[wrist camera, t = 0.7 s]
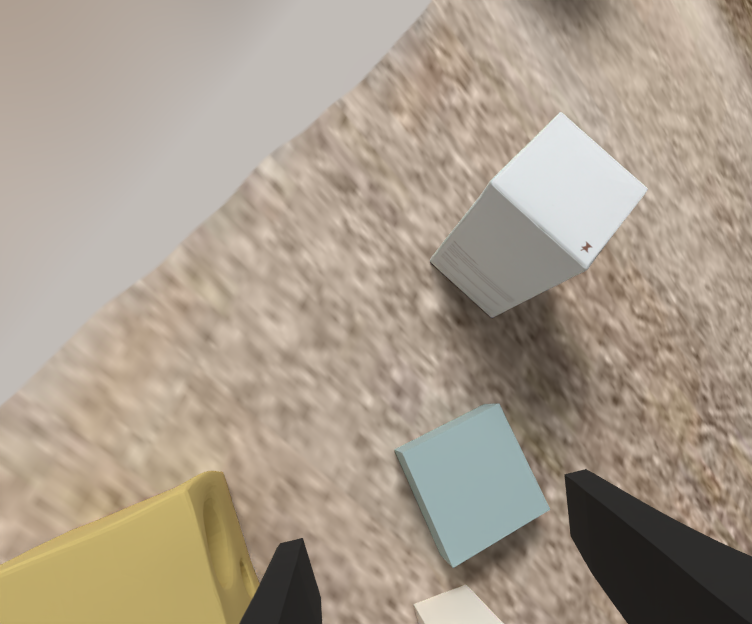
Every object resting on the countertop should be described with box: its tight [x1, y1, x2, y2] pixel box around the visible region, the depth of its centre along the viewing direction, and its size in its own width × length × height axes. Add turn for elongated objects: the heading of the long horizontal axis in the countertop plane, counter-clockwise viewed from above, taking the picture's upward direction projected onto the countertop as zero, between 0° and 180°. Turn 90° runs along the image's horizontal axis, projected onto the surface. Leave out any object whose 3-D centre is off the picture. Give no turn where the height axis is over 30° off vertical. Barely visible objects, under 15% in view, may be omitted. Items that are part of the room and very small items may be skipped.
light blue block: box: [395, 404, 550, 568], centre depth 31 cm, size 8×8×3 cm
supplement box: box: [430, 112, 648, 318], centre depth 31 cm, size 7×7×13 cm
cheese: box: [0, 471, 260, 624], centre depth 23 cm, size 10×11×10 cm
